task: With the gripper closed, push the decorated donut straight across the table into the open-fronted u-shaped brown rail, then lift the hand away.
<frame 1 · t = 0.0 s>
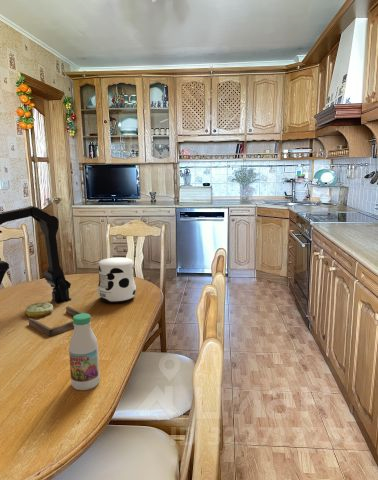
milk container: (117, 299, 169), on the table
milk bottle: (85, 383, 102), on the table
decorated donut: (39, 314, 152), on the table
u-shaped brown rail: (59, 322, 142), on the table
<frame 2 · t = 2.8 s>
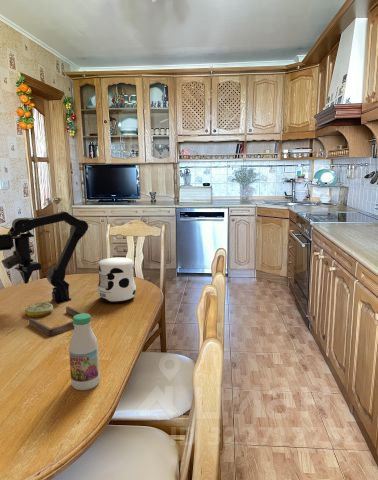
hand: (26, 283, 157), 11 cm above the table, tool pointing down, fingers closed
nothing on the table moved.
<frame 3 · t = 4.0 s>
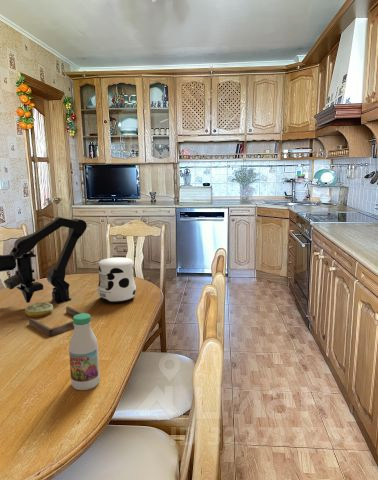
hand: (28, 302, 158), 2 cm above the table, tool pointing down, fingers closed
nothing on the table moved.
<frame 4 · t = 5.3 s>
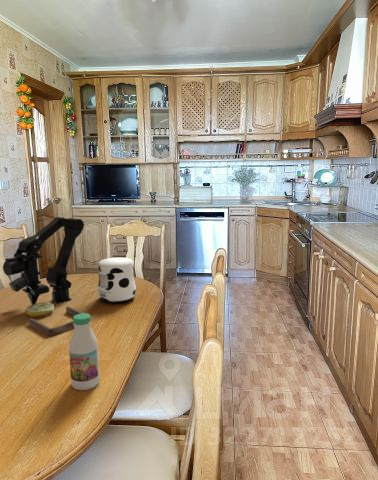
hand: (33, 305, 155), 2 cm above the table, tool pointing down, fingers closed
decorated donut: (40, 314, 152), on the table, touching gripper
everything else where it was.
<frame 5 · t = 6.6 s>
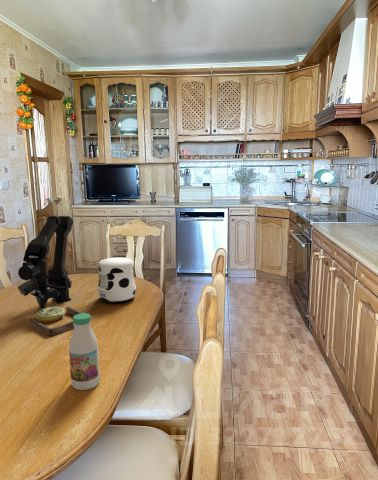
hand: (42, 309, 150), 2 cm above the table, tool pointing down, fingers closed
decorated donut: (50, 318, 147), on the table, touching gripper
everything else where it was.
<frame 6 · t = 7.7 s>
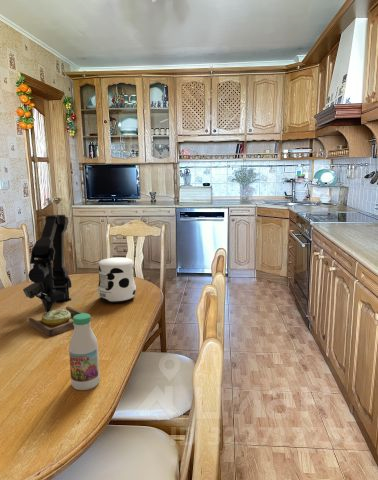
hand: (48, 312, 147), 2 cm above the table, tool pointing down, fingers closed
decorated donut: (56, 321, 144), on the table, touching gripper
everything else where it was.
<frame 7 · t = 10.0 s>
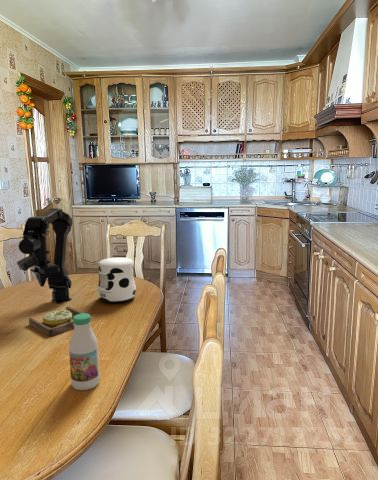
hand: (42, 286, 147), 13 cm above the table, tool pointing down, fingers closed
decorated donut: (58, 322, 144), on the table
everything else where it was.
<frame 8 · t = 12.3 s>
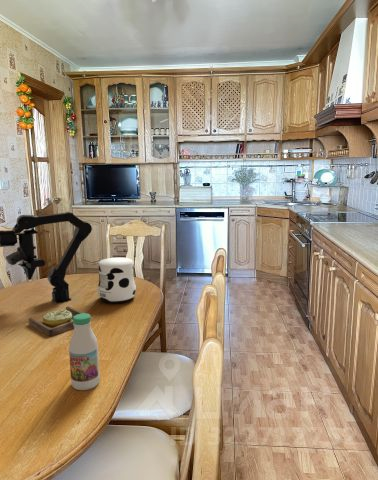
hand: (29, 279, 159), 12 cm above the table, tool pointing down, fingers closed
nothing on the table moved.
at the end: decorated donut inside the target area (2.7 cm from its centre), on the table; decorated donut moved 13.8 cm from its start; the gripper is holding nothing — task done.
